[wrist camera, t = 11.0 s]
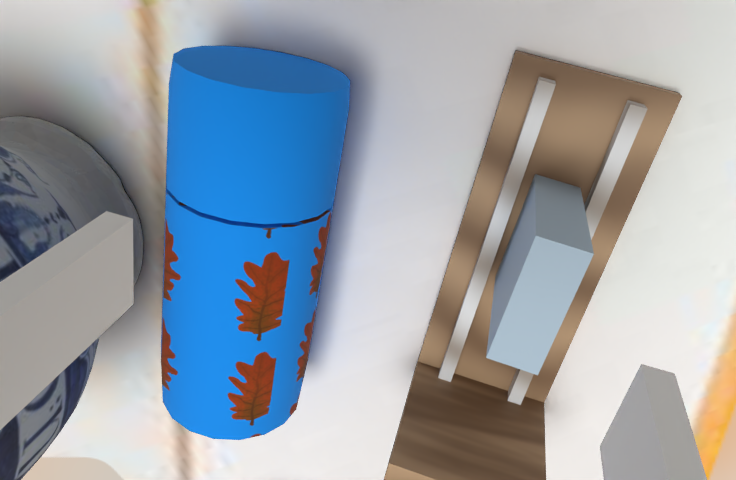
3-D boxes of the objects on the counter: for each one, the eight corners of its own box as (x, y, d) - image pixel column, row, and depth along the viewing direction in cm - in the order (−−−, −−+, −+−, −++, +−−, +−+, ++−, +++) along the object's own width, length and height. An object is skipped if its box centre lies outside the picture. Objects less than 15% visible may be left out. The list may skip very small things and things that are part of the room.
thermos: (319, 368, 53) (371, 72, 41) (273, 460, 43) (324, 107, 32) (200, 333, 54) (219, 37, 43) (130, 414, 45) (130, 61, 33)
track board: (515, 50, 39) (509, 87, 28) (678, 92, 38) (736, 147, 27) (413, 373, 50) (382, 485, 40) (535, 413, 49) (535, 539, 39)
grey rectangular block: (535, 174, 41) (535, 235, 32) (580, 187, 40) (594, 254, 31) (495, 276, 44) (485, 357, 35) (536, 290, 44) (537, 375, 35)
